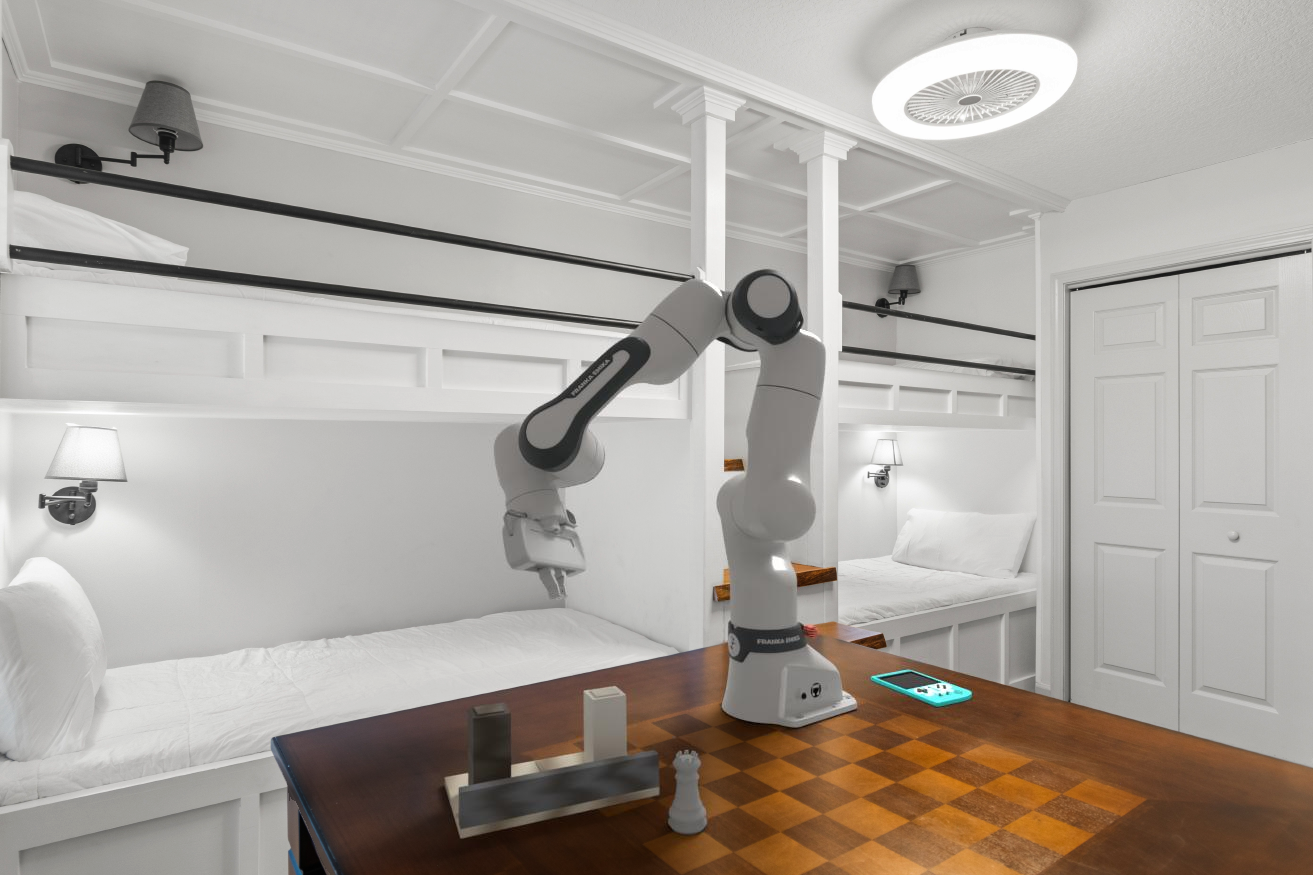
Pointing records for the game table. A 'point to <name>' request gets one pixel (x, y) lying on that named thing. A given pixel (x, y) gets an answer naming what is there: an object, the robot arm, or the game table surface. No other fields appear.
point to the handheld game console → (923, 687)
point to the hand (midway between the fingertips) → (559, 598)
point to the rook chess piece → (687, 796)
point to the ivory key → (604, 724)
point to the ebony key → (489, 743)
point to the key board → (550, 790)
